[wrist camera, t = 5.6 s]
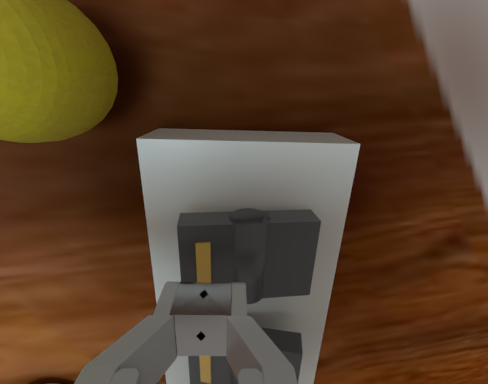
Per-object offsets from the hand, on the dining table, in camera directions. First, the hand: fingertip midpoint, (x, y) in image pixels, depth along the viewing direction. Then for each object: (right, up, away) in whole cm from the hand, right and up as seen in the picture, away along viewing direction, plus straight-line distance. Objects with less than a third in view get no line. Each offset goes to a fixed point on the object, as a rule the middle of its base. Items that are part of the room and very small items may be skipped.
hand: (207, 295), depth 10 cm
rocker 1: (+2, +1, +2) cm, 3 cm away
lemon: (-7, +10, +4) cm, 13 cm away
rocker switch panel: (+1, -6, +10) cm, 11 cm away
